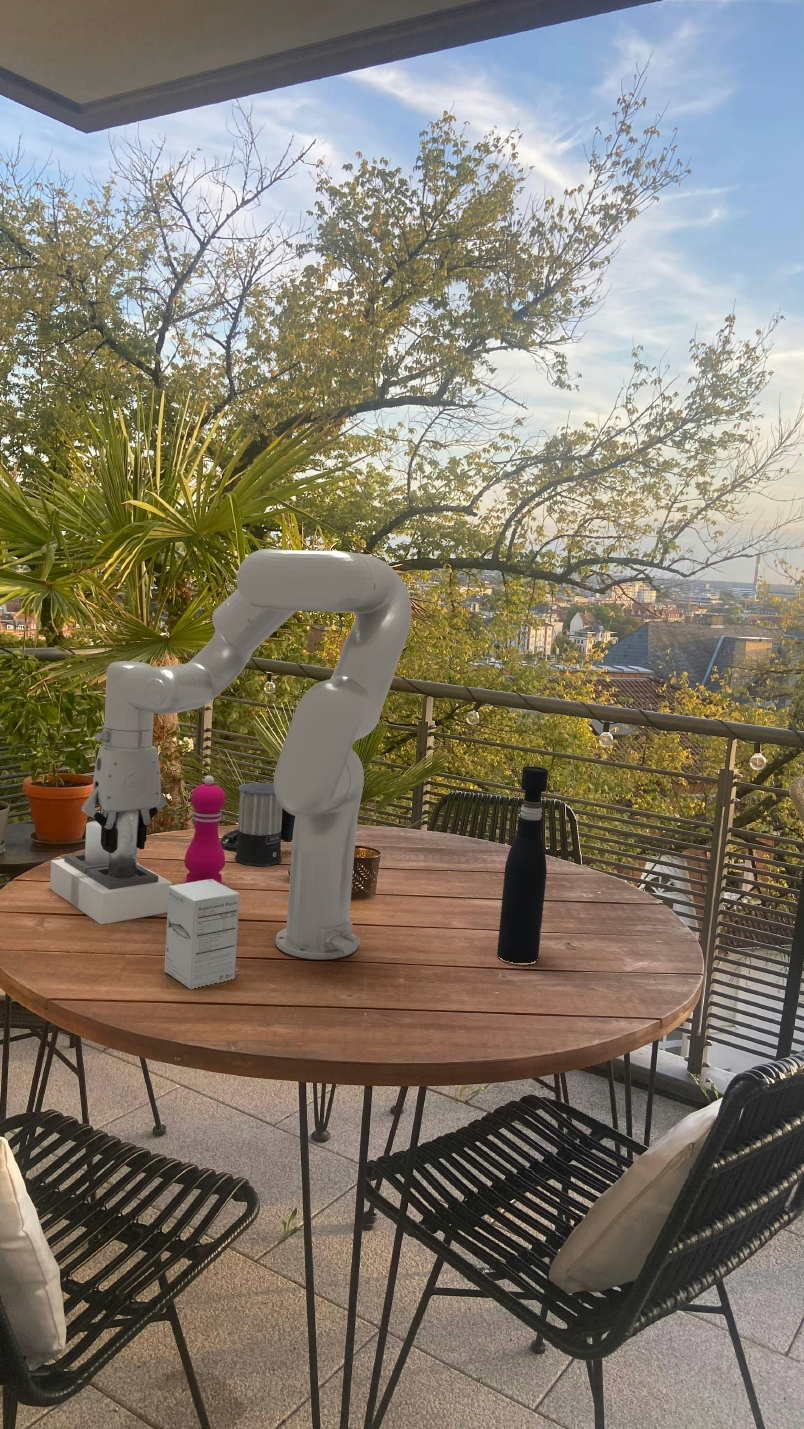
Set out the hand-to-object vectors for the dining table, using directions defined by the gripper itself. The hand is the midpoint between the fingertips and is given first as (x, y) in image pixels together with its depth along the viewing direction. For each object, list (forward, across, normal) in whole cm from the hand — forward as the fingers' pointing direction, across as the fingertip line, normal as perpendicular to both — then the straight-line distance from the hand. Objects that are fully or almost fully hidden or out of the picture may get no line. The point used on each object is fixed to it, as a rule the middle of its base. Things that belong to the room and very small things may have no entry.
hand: (123, 847), depth 159 cm
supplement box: (+10, -3, -30) cm, 32 cm away
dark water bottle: (+10, +42, -50) cm, 66 cm away
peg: (+4, 0, 0) cm, 4 cm away
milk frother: (+10, +36, +17) cm, 41 cm away
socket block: (+10, 0, +4) cm, 11 cm away
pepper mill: (+10, +18, +4) cm, 21 cm away
